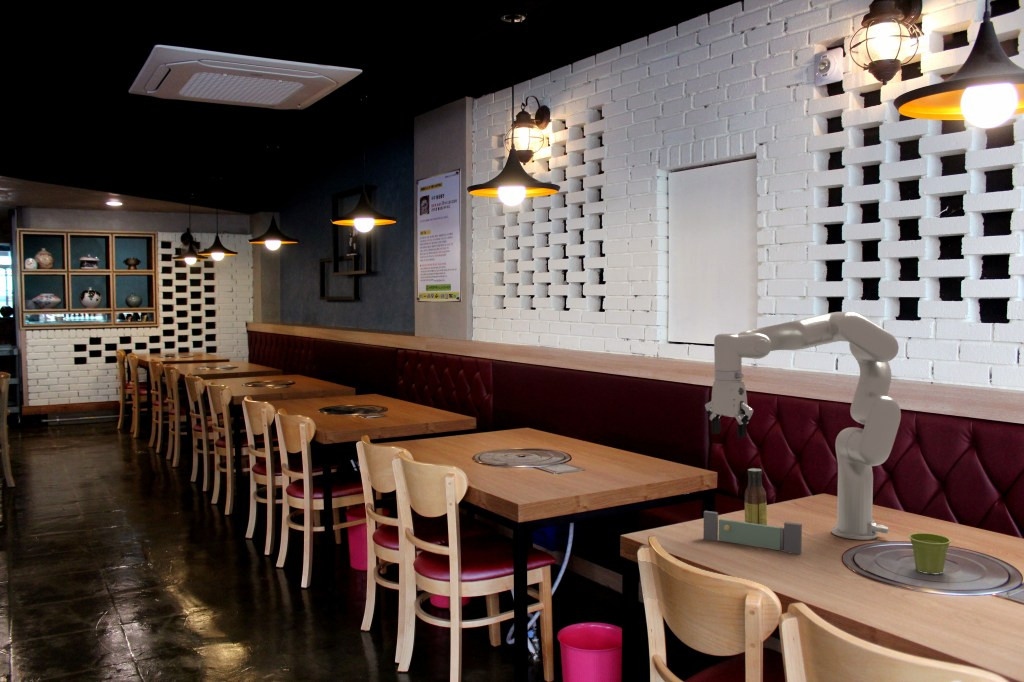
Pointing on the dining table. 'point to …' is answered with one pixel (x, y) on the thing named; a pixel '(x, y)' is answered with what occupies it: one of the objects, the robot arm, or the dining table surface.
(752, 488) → the sauce bottle
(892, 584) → the dining table surface
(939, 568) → the plant pot
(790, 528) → the partition wall
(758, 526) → the door
